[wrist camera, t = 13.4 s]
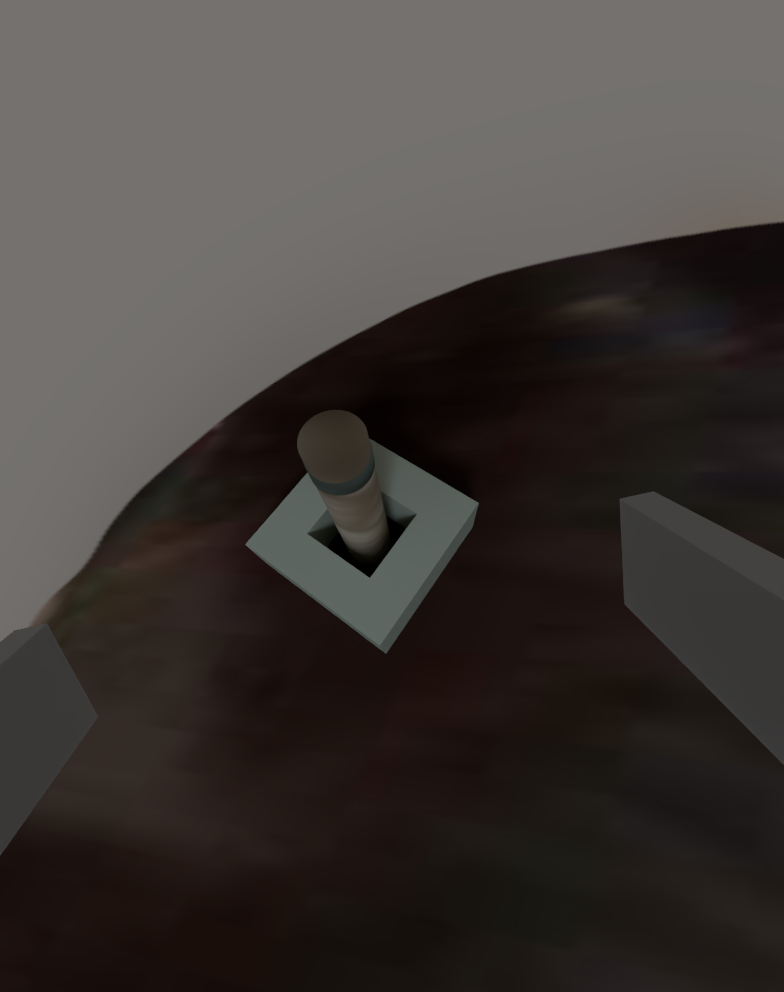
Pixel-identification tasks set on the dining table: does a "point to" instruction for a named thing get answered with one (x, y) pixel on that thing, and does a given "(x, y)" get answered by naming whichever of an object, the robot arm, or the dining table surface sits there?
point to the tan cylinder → (347, 482)
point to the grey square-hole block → (404, 571)
